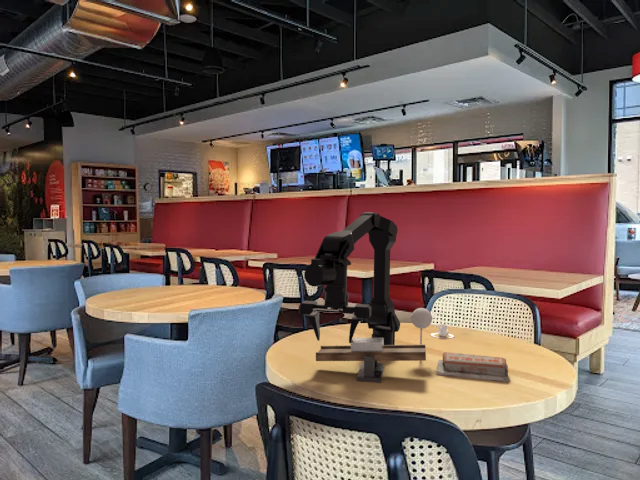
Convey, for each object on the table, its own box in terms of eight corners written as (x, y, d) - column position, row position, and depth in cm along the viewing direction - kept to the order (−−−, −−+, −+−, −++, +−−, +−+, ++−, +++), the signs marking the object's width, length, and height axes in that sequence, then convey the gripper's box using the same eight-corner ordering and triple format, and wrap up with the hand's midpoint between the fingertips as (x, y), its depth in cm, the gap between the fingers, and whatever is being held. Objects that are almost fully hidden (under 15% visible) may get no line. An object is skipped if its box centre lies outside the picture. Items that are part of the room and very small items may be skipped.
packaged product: (506, 354, 135) (509, 365, 125) (506, 372, 135) (508, 384, 126) (438, 348, 140) (435, 358, 131) (437, 365, 140) (435, 376, 131)
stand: (384, 366, 137) (384, 345, 136) (380, 382, 124) (380, 358, 124) (362, 365, 138) (362, 343, 138) (356, 380, 125) (356, 357, 125)
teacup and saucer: (440, 332, 179) (440, 321, 179) (460, 336, 173) (460, 325, 173) (425, 336, 173) (426, 324, 173) (445, 341, 167) (445, 329, 167)
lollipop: (432, 358, 146) (433, 307, 145) (430, 363, 140) (431, 310, 139) (411, 355, 148) (412, 305, 147) (408, 361, 142) (409, 309, 141)
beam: (425, 353, 132) (425, 344, 132) (426, 362, 124) (425, 352, 124) (321, 354, 137) (321, 345, 137) (315, 362, 130) (315, 353, 129)
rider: (384, 348, 132) (383, 337, 132) (382, 353, 127) (381, 342, 127) (354, 348, 134) (353, 337, 134) (351, 354, 129) (350, 342, 129)
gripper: (374, 281, 138) (372, 337, 138) (308, 277, 141) (306, 332, 142) (370, 286, 127) (368, 347, 127) (298, 282, 130) (297, 341, 131)
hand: (334, 341), depth 132 cm, fingers open, 8 cm apart
